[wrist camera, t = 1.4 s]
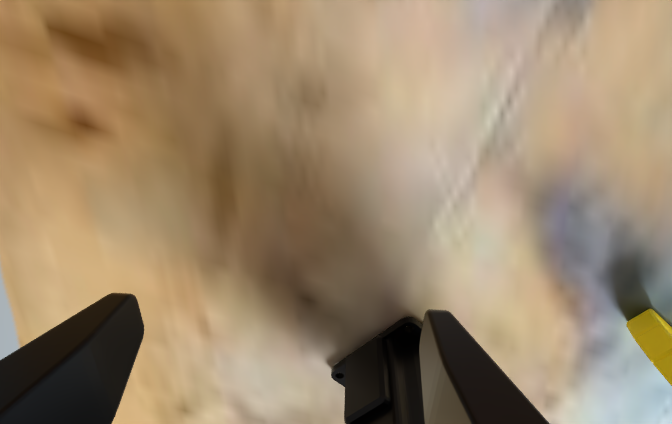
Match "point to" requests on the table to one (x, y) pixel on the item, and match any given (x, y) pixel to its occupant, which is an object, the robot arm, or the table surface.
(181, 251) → the table surface
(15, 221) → the table surface
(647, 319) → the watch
